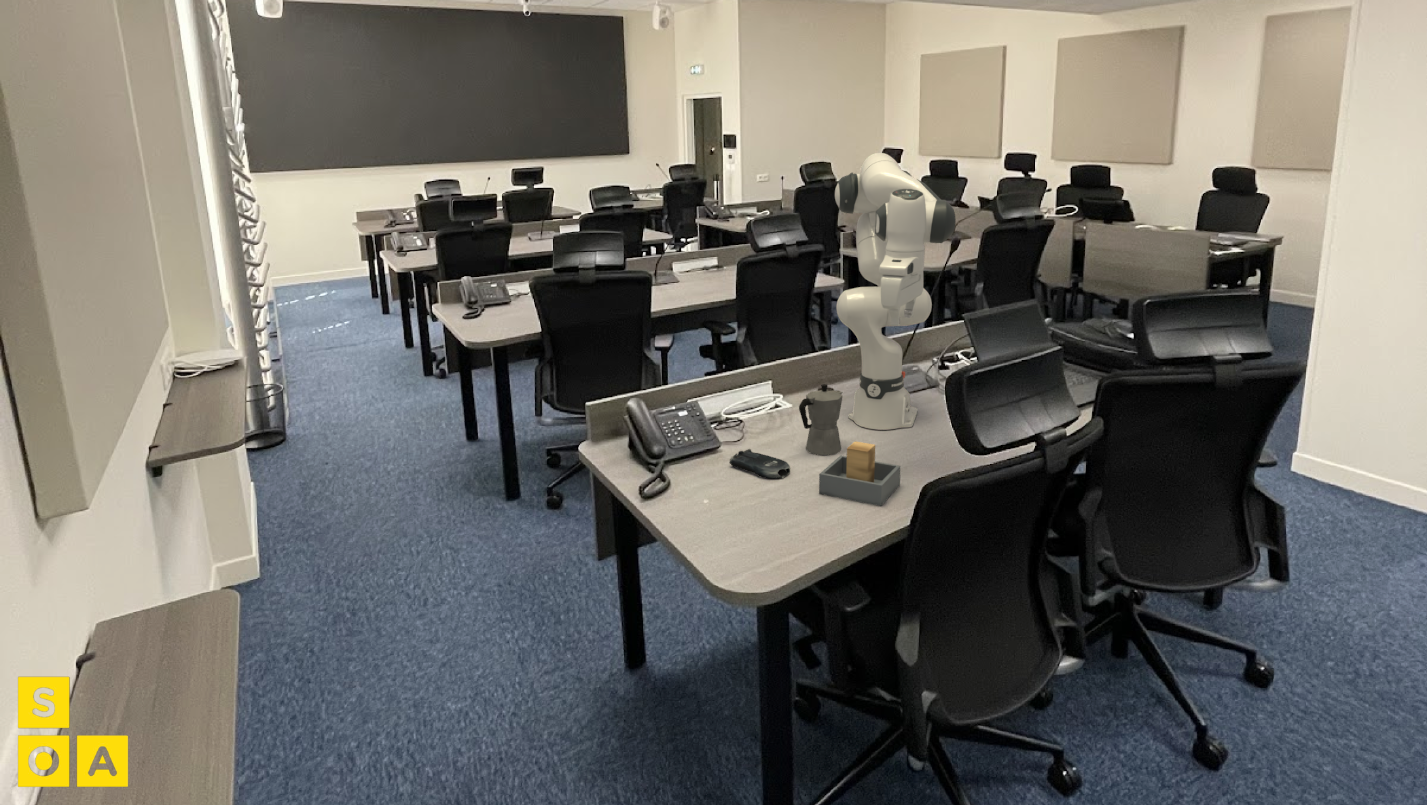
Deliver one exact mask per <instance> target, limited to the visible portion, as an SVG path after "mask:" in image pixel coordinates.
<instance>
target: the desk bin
mask: <svg viewBox="0 0 1427 805" xmlns="http://www.w3.org/2000/svg"><path fill="white" fill-rule="evenodd" d="M846 470H847V455H843V454H841V455H839V456H838V457H837V458H836V459H834V461H832V462H831V463H830V464H829V465H828V466H826V467H825V468H824V469H823V470H822V471H820V472H819V475H818V476H819V478H818V481H819V482H818V494H819V495H824V496H828V497H834V498H839V499H843V500H847V501H848V500H849V501H853V502H858V503H863V504H868V505H874V506H878V507H882V506H883V505H884V504H885V502H886V501H887V500H888V499H889V498H890V497H891V496H892V495H893V493H895V491H896V490H897V489H898V488H899V487H900V485H901V484H900V483H901V465H897V464H892V463H886V462H881V461H876V460H875V470H874V483H873V482H868V481H862V480H857V479H852V478H846Z"/></svg>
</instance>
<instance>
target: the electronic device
mask: <svg viewBox="0 0 1427 805" xmlns="http://www.w3.org/2000/svg"><path fill="white" fill-rule="evenodd" d="M729 465H730V466H732V467H733V468H738V469H740V470H742V471H745V472H750V473H753V474H755V475H756V476H758V477H760V478H763V479H769V480H774V479H775V480H776V479H780V478H781V479H784V478H785V477H787V476H788V475H789V474H790V473H791V472H790V471H791V466H790V464H789V463H788V462H787V461H786V460H784V459H783V460H782V459H780V458H777V457H773V456H770V455H766V454H762V453H759V452H753V451H752V449H750V448H747V449H745V450H740V451H738V452H737V453H735V454H734V455H732V456H730V458H729ZM780 470H784V471H785V472H786V474H785V475H782V476H781V475H780Z"/></svg>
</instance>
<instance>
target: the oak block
mask: <svg viewBox="0 0 1427 805" xmlns="http://www.w3.org/2000/svg"><path fill="white" fill-rule="evenodd" d="M846 456H847V470H846V478H852V479H857V480H862V481H868V482H873V483H874V470H875V461H876V444H873V443H868V442H862V441H855V440H854V442H852V444H849V446H847V448H846Z"/></svg>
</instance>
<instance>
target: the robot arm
mask: <svg viewBox="0 0 1427 805" xmlns="http://www.w3.org/2000/svg"><path fill="white" fill-rule="evenodd" d="M834 199H835V203H836V205H837V207H838V208H837V209H838V210H839V211H841V213H844V214H861V215H859V217H858V220H857V222H856V223H857V224H856V230H855V231H856V232H855V238H856V239H855V241H856V242H855V243H856V253H857V263H858V271H859V272H860V274H861V276H862V277H863V278H864V280H867V281H868V282H870V283H872V284H874V285H877V286H860V287H858V286H857V287H854V288H849V289H846V290H843V292H841V293H840V295H839V296H838V299H837V302H836V314H837V317H838V319H839V320H840V322H841V323H842V324H843V325H844V326H846V327H847V328H849V329H850V330H851V331H852V333H853V334H854V335H855V336H856V338H857V340H858V343H859V346H860V353H861V372H860V374H859V380H858V381H859V388H858V389H857V390H856V391H855V392H854V398H853V408H852V409H853V410H852V412H849V413H848V419H850V420H852V421H854V423H855V424H856V425H857V426H858V427H862V428H866V429H869V430H879V431H880V430H881V431H885V430H894V429H900V428H901V429H902V428H912V427H913V426H914V423H915V419H916V417H917V416H918V415H917V414H918V407H917V408H916V407H915V406H912V405H911V394H910V392H908V391H909V390H907V389H906V388H905V386H904V385H905V384H904V383H905V382H904V381H905V380H904V379H905V377H906V371H904V370H903V349H902V346H901V345H900V343H898V341H896V340H894V339H892V338H890V337H888V336H885V335H884V334H883V333H882V328H884V327H906V326H907V327H908V326H913V325H917V324H921V323H925V322H926V320H927V319H928V318H929V316H930V314H931V312H932V306H933V304H932V298H931V295H930V294H929V292H928V291H927V290H926V289H925V288H924V270H925V254H926V253H925V252H926V245H925V243H931V244H943V243H944V242H945V241H947V240H948V239H949V238H950V237H952V235H953V234H954V232H955V229H956V213H955V210H954V207H953V206H952V205H951V204H950V203H949V202H948V201H947V200H946V199H941V198H940V197H939V196H938V195H937V194H936V193H935V192H934V191H933V190H932V188H930V187H929V186H928V185H927V184H926V183H925V182H923V181H921V180H919V179H917V178H915V177H914V176H912V174H911V173H910V172H908V171H904V170H903V169H902V168H901V166H900V164H899V163H898V162H897V161H896V159H894V157H892V156H891V155H889V154H887V153H884V152H875V153H872V154H870V155H868V156H867V157H866V158H865V160H864V161H863V162H862V165H861V167H860V173H854V172H850V173H849V174H847V175H844V176H842V177H841V178H840V179H839V180H838V181H837V184H836V186H835V190H834Z"/></svg>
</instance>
